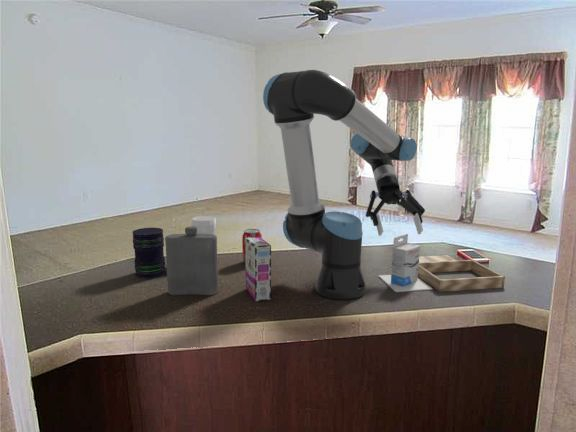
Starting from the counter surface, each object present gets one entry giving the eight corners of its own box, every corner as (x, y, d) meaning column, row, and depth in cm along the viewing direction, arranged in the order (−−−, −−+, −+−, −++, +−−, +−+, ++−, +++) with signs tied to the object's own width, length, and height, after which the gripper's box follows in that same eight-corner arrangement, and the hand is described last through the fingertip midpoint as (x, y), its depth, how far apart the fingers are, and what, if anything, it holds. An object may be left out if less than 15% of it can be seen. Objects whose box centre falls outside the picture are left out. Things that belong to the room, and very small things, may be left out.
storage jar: (146, 281, 142) (143, 236, 139) (129, 274, 148) (125, 231, 145) (171, 273, 150) (169, 230, 147) (154, 267, 155) (151, 226, 152)
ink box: (404, 287, 136) (406, 240, 133) (390, 282, 139) (392, 237, 136) (418, 280, 142) (421, 236, 139) (404, 276, 145) (407, 233, 142)
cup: (191, 258, 166) (189, 216, 163) (215, 256, 169) (214, 215, 165) (194, 265, 158) (192, 221, 154) (219, 263, 160) (218, 220, 157)
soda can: (239, 264, 159) (239, 232, 156) (247, 258, 165) (246, 227, 163) (258, 266, 157) (257, 233, 154) (264, 260, 163) (264, 229, 161)
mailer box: (439, 291, 133) (439, 280, 133) (394, 258, 166) (395, 249, 165) (503, 287, 137) (504, 276, 136) (447, 256, 169) (448, 247, 169)
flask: (220, 288, 136) (218, 225, 132) (217, 295, 130) (215, 229, 126) (171, 288, 136) (167, 225, 131) (166, 295, 130) (162, 229, 126)
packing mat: (395, 292, 133) (395, 290, 133) (378, 276, 146) (378, 275, 146) (432, 289, 135) (432, 288, 135) (412, 274, 148) (412, 273, 148)
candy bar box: (272, 300, 127) (271, 245, 123) (255, 302, 125) (254, 246, 122) (260, 286, 137) (260, 235, 134) (245, 289, 135) (244, 237, 132)
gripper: (416, 186, 160) (432, 237, 149) (349, 188, 156) (361, 240, 145) (423, 173, 154) (441, 225, 143) (354, 174, 150) (367, 228, 139)
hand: (401, 233), depth 144 cm, fingers open, 13 cm apart
